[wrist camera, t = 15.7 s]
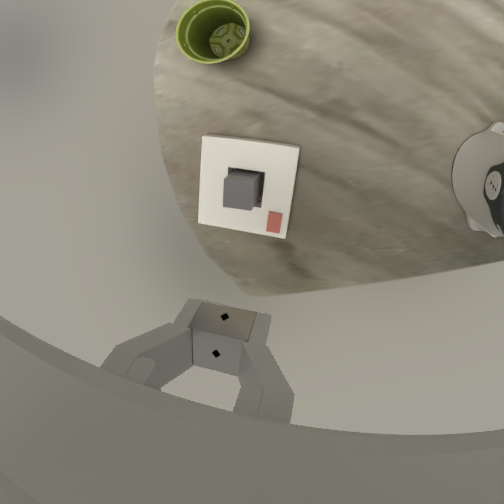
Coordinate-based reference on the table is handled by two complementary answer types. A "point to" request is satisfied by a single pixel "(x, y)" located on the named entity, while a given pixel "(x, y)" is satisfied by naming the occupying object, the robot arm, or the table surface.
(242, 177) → the plug
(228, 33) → the plant pot
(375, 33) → the table surface
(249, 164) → the socket plate
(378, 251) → the table surface
